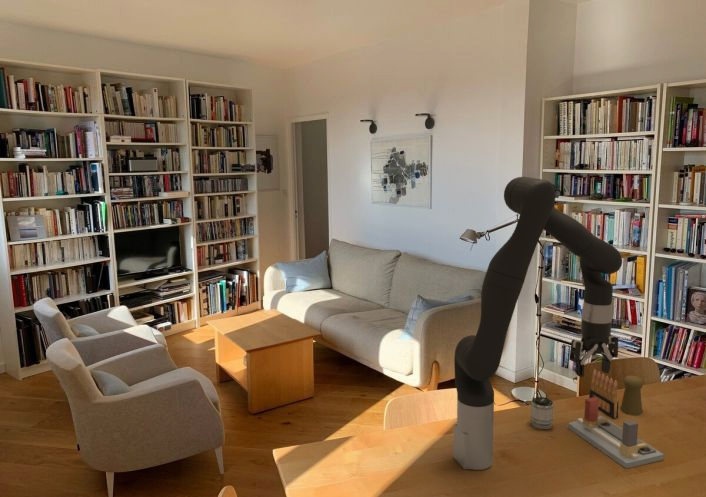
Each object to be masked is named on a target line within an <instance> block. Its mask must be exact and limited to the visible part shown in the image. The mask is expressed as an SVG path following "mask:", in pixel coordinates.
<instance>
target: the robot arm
mask: <svg viewBox="0 0 706 497" xmlns="http://www.w3.org/2000/svg"><path fill="white" fill-rule="evenodd" d="M556 196H557V194H556V189H555V187H554V185H553V183H552V182H551V181H549V180H546V179H541V178H535V177H530V176H529V177H528V176H517V177H515V178H513V179H511V180H510V181H509V182H508V183H507V184H506V186H505V188H504V190H503V200H504V203H505V205H506V207H508V209H509V210H511V211H512V212H514V213H515V214H518V215H519V217H518V219H517V222H516V226H515V228H514V230H513V233H512V234H511V235H510V237H509V238H508V240H507V241H506V242H504V244H503V245H502V246H500V248H499V250H498V251H497V252H496V253H495V254H494V255H493V256H492V258H491V259H490V261H489V264H488V267H487V270H486V272H485V275H484V279H483V281H482V286H481V295H480V320H479V325H478V329H477V331H476V335H475V334H474V335H467V336H464V337H463V338H462V339H460V340H459V341H458V343H457V345H456V346H455V351H454V364H453V365H454V384H455V388H456V395H457V397H456V400H457V401H456V402H457V403H456V411H457V412H456V422H457V423H455V424H454V425H453V459H454V460H455V462H457V463H458V464H459V465H460V466H461V468H463V470H474V471H479V470H480V471H483V470H487V469H489V468H490V467H491V466H492V465H493V458H494V452H493V451H494V420H495V419H494V418H495V416H494V412H495V411H494V410H495V391H494V386H493V385H492V383H491V378H492V377H493V376H494V375H495V374H496V373H497V371H498V370H499V367H500V363H501V359H502V355H503V351H504V347H505V342H506V337H507V333H508V330H509V328H510V327H509V326H510V323H511V321H512V319H513V318H512V317H513V315H514V312H515V310H516V305H517V303H518V299H519V297H520V294H521V291H522V289H523V286H524V284H525V280H526V276H527V273H528V269H529V267H530V264H531V262H532V259H533V256H534V254H535V251H536V248H537V245H538V243H539V240H540V237H541V236H542V233H543V231H545V232H547V233H548V234H549V235H550V236H551V237H553V239H556V240H557V241H558V242H559V243H560V244H561V245H563V246H564V247H565V248H566V249H567V250H568V251H569V252H571V253H572V254H573V255H574V256H577V257H579V266H580V272H581V277H582V281H583V285H584V292H583V304H582V308H581V309H582V310H581V322H580V323H581V324H580V333H581V339H580V340H575V339H572V340H571V342H570V349H569V350H570V351H569V360H570V361H572V362H573V363H575V368H574V369H575V372H574V373H575V375H577V377H579V378H583V377H584V376H585V365H586V364H585V363H586V362H587V360H588V359H590V358H591V357H592V356H595V355H601V356H602V358H601V368H600V369H601V371H602V372H601V373H605V374H609V373H610V370H611V363H612V360H613V359H614V358H615V359H616V358H618V356H619V337H618V336H615V335H612V334H611V333H612V321H613V306H612V305H613V296H614V295H613V292H614V287H613V284H612V283H611V282H609V281H608V280H606V279H605V278H604V277H603V274H605V275H614V274H616V273H617V272H618V271H619V270H620V269H621V267H622V265H623V257H622V255H621V252H620V251H619V250H618V249H617V248H616V247H615V246H613V245H611V244H609V243H608V242H606V241H604V240H603V239H601V238H599V237H597V236H596V235H595V234H594V233H592V232H591V231H590V230H589V229H588V228H586V226H585V225H583V224H582V223H581V222H579V221H578V220H577V219H575V218H573V217H572V216H570V215H568V214H566V213H565V212H563V211H561V210H560V209H558V208H556V207H555V201H556Z"/></svg>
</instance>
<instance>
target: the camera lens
mask: <svg viewBox="0 0 706 497" xmlns="http://www.w3.org/2000/svg"><path fill="white" fill-rule="evenodd" d="M554 406H555V405H554V402H553V401H552V400H551V399H549V398H547V397H543V396H538V397H534V398H532V399H531V401H530V423H531V425H532V427H534V428H535V429H539V430H543V429H545V430H550V429H551V428H552V426H553V423H554V409H555V407H554Z"/></svg>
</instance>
